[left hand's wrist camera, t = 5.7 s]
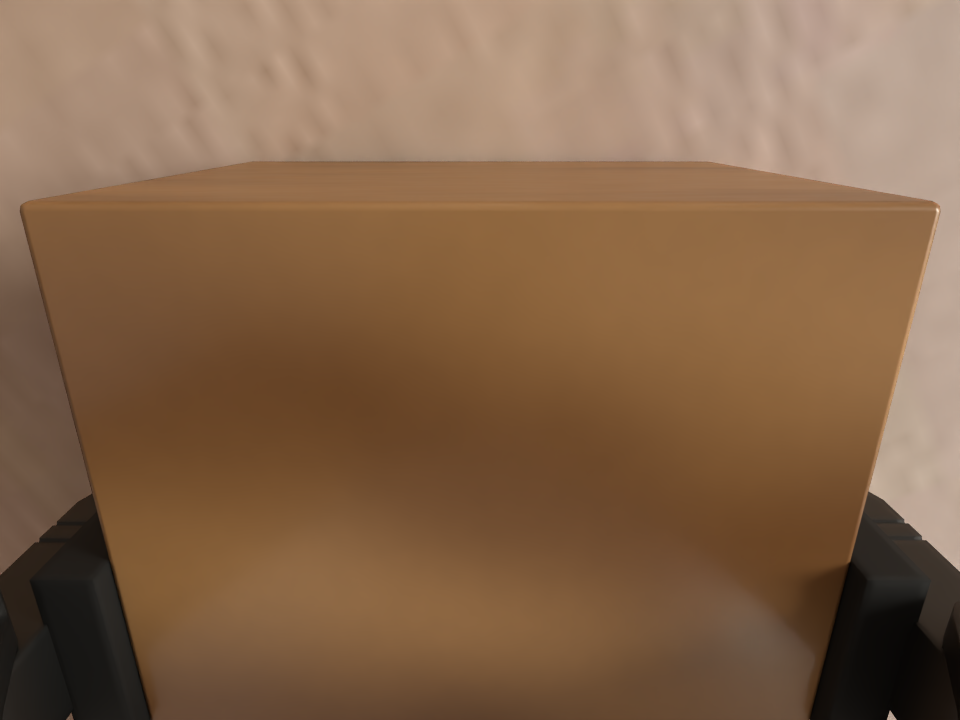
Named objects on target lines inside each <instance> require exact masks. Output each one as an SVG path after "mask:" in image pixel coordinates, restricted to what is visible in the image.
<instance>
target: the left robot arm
mask: <svg viewBox="0 0 960 720" xmlns="http://www.w3.org/2000/svg"><path fill="white" fill-rule="evenodd" d="M889 711H891V712H892V714H893V715H894V716H895V718H896V719H897V720H960V572H959V571H958V570H957V569H956V568H955V567H954V566H953V565H952V564H951V563H950V562H949V561H948V560H947V559H945V558H944V557H943V556H942V555H941V554H940V553H939V552H938V551H937V550H936V549H935V548H934V547H933V546H932V545H931V544H930V543H928V542H927V541H926V540H922V536H921V535H920V534H919V533H918V532H917V531H916V530H915V529H914V528H913V527H911V526H910V525H909V524H905V523H904V519H903V518H902V517H901V516H900V515H899V514H898V513H897V512H896V511H894V510H893V509H892V508H891V507H890V506H889V505H888V504H887V503H886V502H885V501H884V500H882V499H881V498H879V497H877V496H875V495H874V494H872V493H870V492H868V494H867V498H866V502H865V506H864V510H863V514H862V518H861V522H860V525H859V529H858V533H857V537H856V541H855V545H854V549H853V553H852V556H851V560H850V564H849V568H848V572H847V576H846V580H845V584H844V588H843V591H842V595H841V599H840V603H839V607H838V611H837V615H836V619H835V622H834V626H833V630H832V634H831V638H830V642H829V646H828V650H827V653H826V657H825V661H824V665H823V669H822V673H821V677H820V681H819V684H818V688H817V692H816V696H815V700H814V704H813V708H812V712H811V716H810V720H887V718H888V714H889ZM70 713H72V716H73V719H74V720H151V719H150V715H149V711H148V707H147V703H146V699H145V695H144V691H143V688H142V684H141V680H140V676H139V672H138V668H137V664H136V660H135V656H134V653H133V649H132V645H131V641H130V637H129V633H128V629H127V625H126V622H125V618H124V614H123V610H122V606H121V602H120V598H119V594H118V590H117V587H116V583H115V579H114V575H113V571H112V567H111V563H110V559H109V556H108V552H107V548H106V544H105V540H104V536H103V532H102V528H101V524H100V521H99V517H98V513H97V509H96V505H95V501H94V497H93V494H91V495H89V496H87V497H86V498H84V499H82V500H80V501H79V502H77V503H76V504H75V505H74V506H73V507H72V508H71V509H70V510H69V511H68V512H67V513H66V514H65V515H64V516H63V517H61V518H60V519H59V520H58V521H57V525H56V526H52V527H51V528H50V529H49V530H48V531H47V532H46V533H45V534H44V535H43V536H41V537H40V541H39V543H34V544H33V545H32V546H31V547H30V548H29V549H28V550H27V551H26V552H25V553H24V554H22V555H21V556H20V557H19V558H18V559H17V560H16V561H15V562H14V563H13V564H12V565H11V566H10V567H9V568H8V569H7V570H6V571H5V572H3V573H2V574H1V575H0V720H66V719H67V718H68V716H69V715H70Z"/></svg>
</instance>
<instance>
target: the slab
mask: <svg viewBox="0 0 960 720" xmlns="http://www.w3.org/2000/svg"><path fill="white" fill-rule="evenodd" d="M20 214H21V218H22V222H23V225H24V229H25V233H26V237H27V241H28V245H29V249H30V253H31V257H32V260H33V264H34V268H35V272H36V276H37V280H38V284H39V288H40V291H41V295H42V299H43V303H44V307H45V311H46V315H47V319H48V323H49V326H50V330H51V334H52V338H53V342H54V346H55V350H56V354H57V357H58V361H59V365H60V369H61V373H62V377H63V381H64V385H65V389H66V392H67V396H68V400H69V404H70V408H71V412H72V416H73V420H74V423H75V427H76V431H77V435H78V439H79V443H80V447H81V451H82V455H83V458H84V462H85V466H86V470H87V474H88V478H89V482H90V486H91V489H92V493H93V497H94V501H95V505H96V509H97V513H98V517H99V521H100V524H101V528H102V532H103V536H104V540H105V544H106V548H107V552H108V556H109V559H110V563H111V567H112V571H113V575H114V579H115V583H116V587H117V590H118V594H119V598H120V602H121V606H122V610H123V614H124V618H125V622H126V625H127V629H128V633H129V637H130V641H131V645H132V649H133V653H134V656H135V660H136V664H137V668H138V672H139V676H140V680H141V684H142V688H143V691H144V695H145V699H146V703H147V707H148V711H149V715H150V719H151V720H809V719H810V716H811V712H812V708H813V704H814V700H815V696H816V692H817V688H818V684H819V681H820V677H821V673H822V669H823V665H824V661H825V657H826V653H827V650H828V646H829V642H830V638H831V634H832V630H833V626H834V622H835V619H836V615H837V611H838V607H839V603H840V599H841V595H842V591H843V588H844V584H845V580H846V576H847V572H848V568H849V564H850V560H851V556H852V553H853V549H854V545H855V541H856V537H857V533H858V529H859V525H860V522H861V518H862V514H863V510H864V506H865V502H866V498H867V494H868V491H869V487H870V483H871V479H872V475H873V471H874V467H875V463H876V460H877V456H878V452H879V448H880V444H881V440H882V436H883V432H884V428H885V425H886V421H887V417H888V413H889V409H890V405H891V401H892V397H893V394H894V390H895V386H896V382H897V378H898V374H899V370H900V366H901V363H902V359H903V355H904V351H905V347H906V343H907V339H908V335H909V332H910V328H911V324H912V320H913V316H914V312H915V308H916V304H917V301H918V297H919V293H920V289H921V285H922V281H923V277H924V273H925V269H926V266H927V262H928V258H929V254H930V250H931V246H932V242H933V238H934V235H935V231H936V227H937V223H938V219H939V215H940V206H939V205H938V204H937V203H935V202H932V201H928V200H923V199H917V198H911V197H906V196H900V195H894V194H889V193H883V192H877V191H872V190H866V189H860V188H855V187H849V186H843V185H837V184H832V183H826V182H820V181H815V180H809V179H803V178H798V177H792V176H786V175H781V174H775V173H769V172H764V171H758V170H752V169H747V168H741V167H735V166H729V165H724V164H718V163H712V162H248V163H242V164H236V165H231V166H225V167H219V168H214V169H208V170H202V171H197V172H191V173H185V174H179V175H174V176H168V177H162V178H157V179H151V180H145V181H140V182H134V183H128V184H123V185H117V186H111V187H105V188H100V189H94V190H88V191H83V192H77V193H71V194H66V195H60V196H54V197H49V198H43V199H37V200H31V201H28V202H26V203H23V204H22V205H21V206H20Z"/></svg>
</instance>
